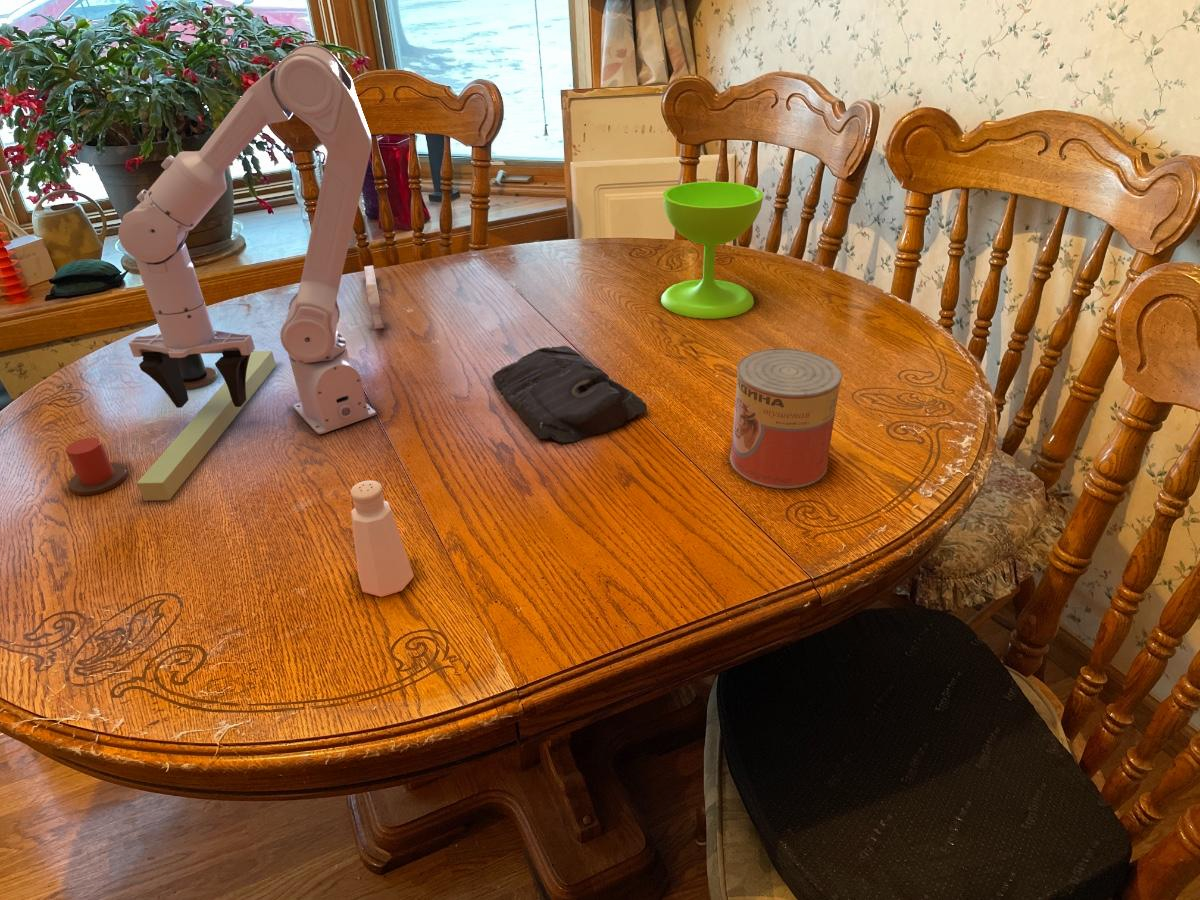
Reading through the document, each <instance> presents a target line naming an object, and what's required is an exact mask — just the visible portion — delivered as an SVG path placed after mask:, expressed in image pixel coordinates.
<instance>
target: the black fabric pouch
mask: <svg viewBox="0 0 1200 900" xmlns="http://www.w3.org/2000/svg"><path fill="white" fill-rule="evenodd" d="M491 379H492V381H493V382H494V385H495V386H496V387H497V389H498V391H500V394H501V395H503V397H504V399H505V400H506V403H507V404H508V405H509V406H510V407H511V409H512V410H513V411H514V412H515V413H516V414H517V416H519V418H520V419H521V421H522V422H523V423H524V424H525V425H526V426H527V427H528V429H529V430H530V431H532V433H533V434H535V436H536V437H537V438H538V439H540V440H546V441H551V440H554V441H556V442H557V443H558V444H559V445H565V444H567V443H573V442H576V441H577V442H579V441H581V440H582V439H584V438H586V437H591V436H598V435H599V434H604V433H605V434H606V433H608V432H610V431H614V430H616V429H618V428H621V427H622V426H623V425H624V424H625V423H626V422H630V421H631V420H632V419H634V418H637V415H639V414H643V413H646V412H647V411H648V409H647V407H648V406H647V404H646V402H645V401H643V399H642V398H641V397H639V396H638V395H637V394H635V393H634V392H633V391H631V390H629V388H626V387H624V386H623V385H622V384H620V383H618V382H617V381H615V380H613V379H612V378H610V376H609V374H607V373H606V372H604V371H603V370H602V369H601V368H599V367H597V366H596V365H595V364H593V362H591V361H589V360H587V359H585V358H584V357H583V356H582V355H581V354H580V353H579V352H577V351H576V350H575V349H573V348H572V347H570V346H567V345H559V346H551V347H550V346H547V347H541V348H538V349H535V350H533V351H532V352H530V353H527V354H526V355H524V356H522V357H520V358H518V360H517V361H514V362H512V363H510V364H507V365H505V366H502V367H501V368H500V369H499V370H497V371H495V373H493V374H492V375H491Z"/></svg>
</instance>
